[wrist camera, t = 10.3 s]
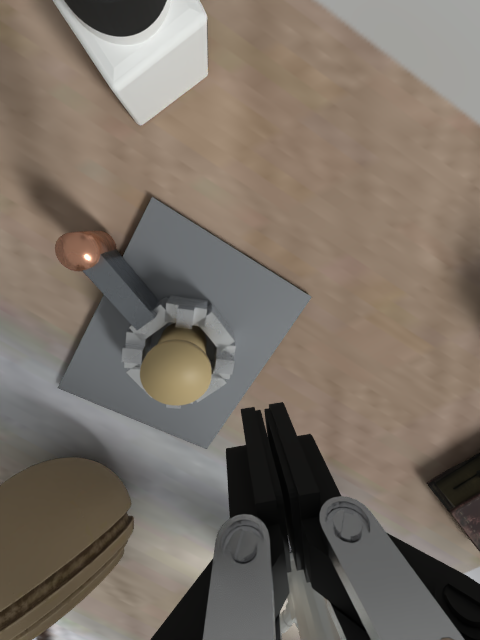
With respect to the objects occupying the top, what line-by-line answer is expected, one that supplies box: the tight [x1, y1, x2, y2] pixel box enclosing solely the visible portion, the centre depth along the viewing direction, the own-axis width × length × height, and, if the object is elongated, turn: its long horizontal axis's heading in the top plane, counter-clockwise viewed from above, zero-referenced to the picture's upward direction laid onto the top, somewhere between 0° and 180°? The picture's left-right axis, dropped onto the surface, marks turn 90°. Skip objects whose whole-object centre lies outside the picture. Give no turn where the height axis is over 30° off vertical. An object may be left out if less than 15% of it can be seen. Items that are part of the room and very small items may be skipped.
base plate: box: [58, 197, 311, 449], centre depth 27 cm, size 22×19×7 cm
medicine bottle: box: [52, 0, 208, 125], centre depth 17 cm, size 7×7×12 cm
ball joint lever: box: [55, 231, 236, 409], centre depth 26 cm, size 18×10×5 cm, turn 35°
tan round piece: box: [0, 457, 134, 640], centre depth 28 cm, size 15×15×15 cm
